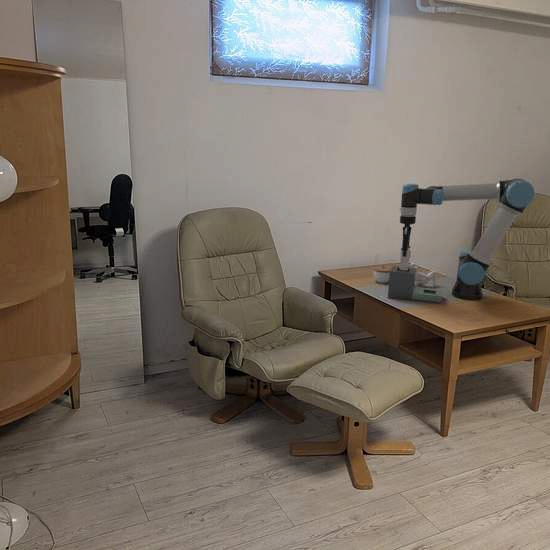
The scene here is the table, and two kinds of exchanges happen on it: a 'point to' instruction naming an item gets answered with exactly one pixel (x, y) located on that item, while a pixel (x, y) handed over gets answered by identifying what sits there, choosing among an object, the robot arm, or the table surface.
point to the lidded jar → (381, 273)
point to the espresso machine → (410, 287)
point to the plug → (405, 265)
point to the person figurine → (424, 276)
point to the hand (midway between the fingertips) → (404, 261)
